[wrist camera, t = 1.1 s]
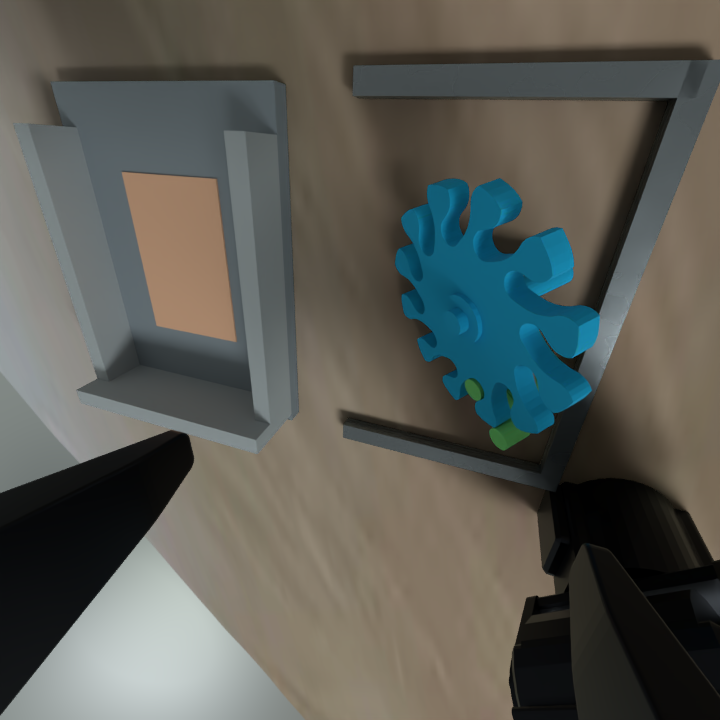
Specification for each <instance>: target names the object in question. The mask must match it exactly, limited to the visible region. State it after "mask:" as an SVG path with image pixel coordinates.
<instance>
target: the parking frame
mask: <svg viewBox="0 0 720 720" xmlns="http://www.w3.org/2000/svg"><path fill="white" fill-rule="evenodd" d="M719 82H720V60H672V61H610V62H547V63H484V64H421V65H358V66H353V96H354V97H357V98H367V99H490V100H612V101H669V102H668V105H667V108H666V111H665V113H664V116H663V119H662V122H661V125H660V128H659V130H658V133H657V136H656V139H655V142H654V144H653V147H652V150H651V153H650V156H649V158H648V161H647V164H646V167H645V170H644V173H643V175H642V178H641V181H640V184H639V187H638V189H637V192H636V195H635V198H634V201H633V203H632V206H631V209H630V212H629V215H628V218H627V220H626V223H625V226H624V229H623V232H622V234H621V237H620V240H619V243H618V246H617V249H616V251H615V254H614V257H613V260H612V263H611V265H610V268H609V271H608V274H607V277H606V279H605V282H604V285H603V288H602V291H601V294H600V296H599V299H598V302H597V305H596V308H595V311H596V312H597V313H598V314H599V315H600V323H599V331H598V336H597V339H596V342H595V343H594V345H593V346H592V347H591V348H589V349H588V350H586V351H584V352H582V353H580V354H579V355H578V358H577V361H576V364H575V367H574V370H575V371H576V372H578V373H580V374H581V375H582V376H583V377H584V378H585V379H586V380H587V381H588V383H589V384H590V386H591V389H592V391H591V392H590V393H589V394H588V395H587V396H586V397H584V398H583V399H582V400H580V401H578V402H577V403H575V404H573V405H572V406H570V407H568V408H567V409H565V410H563V411H561V412H559V413H558V415H557V417H556V420H555V423H554V426H553V429H552V431H551V434H550V437H549V440H548V443H547V445H546V448H545V451H544V454H543V457H542V460H541V462H540V464H537V463H533V462H528V461H524V460H520V459H516V458H512V457H508V456H504V455H500V454H495V453H491V452H487V451H483V450H479V449H475V448H471V447H467V446H463V445H458V444H454V443H450V442H446V441H442V440H438V439H434V438H430V437H425V436H421V435H417V434H413V433H409V432H405V431H401V430H397V429H393V428H388V427H384V426H380V425H376V424H372V423H368V422H364V421H360V420H356V419H351V418H347V420H346V422H345V423H344V425H343V438H347V439H351V440H355V441H359V442H363V443H367V444H370V445H374V446H378V447H382V448H386V449H390V450H394V451H398V452H401V453H405V454H409V455H413V456H417V457H421V458H425V459H428V460H432V461H436V462H440V463H444V464H448V465H452V466H456V467H459V468H463V469H467V470H471V471H475V472H479V473H483V474H487V475H490V476H494V477H498V478H502V479H506V480H510V481H514V482H517V483H521V484H525V485H529V486H533V487H537V488H541V489H545V490H548V491H552V492H556V490H557V487H558V485H559V482H560V480H561V477H562V475H563V472H564V470H565V467H566V465H567V462H568V460H569V457H570V455H571V452H572V450H573V447H574V445H575V442H576V440H577V437H578V435H579V432H580V430H581V427H582V425H583V422H584V420H585V417H586V415H587V412H588V410H589V407H590V405H591V402H592V400H593V397H594V395H595V392H596V390H597V387H598V385H599V382H600V380H601V377H602V375H603V372H604V370H605V367H606V365H607V362H608V360H609V357H610V355H611V352H612V350H613V347H614V345H615V342H616V340H617V337H618V335H619V332H620V330H621V327H622V325H623V322H624V320H625V317H626V315H627V312H628V310H629V307H630V305H631V302H632V300H633V297H634V295H635V292H636V290H637V287H638V285H639V282H640V280H641V277H642V275H643V272H644V270H645V267H646V265H647V262H648V260H649V257H650V255H651V252H652V250H653V247H654V245H655V242H656V240H657V237H658V235H659V232H660V230H661V227H662V225H663V222H664V220H665V217H666V215H667V212H668V210H669V207H670V205H671V202H672V200H673V197H674V195H675V192H676V190H677V187H678V185H679V182H680V180H681V177H682V175H683V172H684V170H685V167H686V165H687V162H688V160H689V157H690V155H691V152H692V150H693V147H694V145H695V142H696V140H697V137H698V135H699V132H700V130H701V127H702V125H703V122H704V120H705V117H706V115H707V112H708V110H709V107H710V105H711V102H712V100H713V97H714V95H715V92H716V90H717V87H718V85H719Z"/></svg>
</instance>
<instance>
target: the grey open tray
mask: <svg viewBox="0 0 720 720" xmlns="http://www.w3.org/2000/svg"><path fill="white" fill-rule="evenodd" d="M51 85H52V89H53V93H54V96H55V100H56V103H57V107H58V110H59V114H60V118H61V121H62V125H63V126H52V125H39V124H24V123H13V125H14V128H15V131H16V134H17V137H18V140H19V143H20V146H21V149H22V152H23V155H24V158H25V161H26V164H27V167H28V170H29V173H30V176H31V179H32V182H33V185H34V188H35V191H36V194H37V197H38V200H39V203H40V206H41V209H42V212H43V215H44V218H45V221H46V224H47V227H48V230H49V233H50V236H51V239H52V242H53V246H54V249H55V252H56V255H57V258H58V261H59V264H60V267H61V270H62V273H63V276H64V279H65V282H66V285H67V288H68V291H69V294H70V297H71V300H72V303H73V306H74V309H75V312H76V315H77V318H78V321H79V324H80V327H81V330H82V333H83V336H84V339H85V342H86V345H87V348H88V351H89V354H90V357H91V360H92V363H93V366H94V369H95V372H96V375H97V378H98V379H96V380H94V381H92V382H91V383H89V384H87V385H85V386H83V387H81V388H79V389H77V390H76V391H77V393H78V396H79V399H80V401H81V403H82V404H86V405H89V406H93V407H96V408H100V409H103V410H107V411H110V412H114V413H117V414H120V415H124V416H127V417H131V418H134V419H138V420H141V421H145V422H148V423H152V424H155V425H159V426H162V427H165V428H169V429H172V430H176V431H180V432H183V433H186V434H190V435H193V436H197V437H200V438H203V439H207V440H210V441H214V442H217V443H221V444H224V445H228V446H231V447H235V448H238V449H242V450H245V451H248V452H252V453H255V454H258V453H259V452H260V451H261V450H262V448H263V447H264V446H265V445H266V444H267V442H268V441H269V440H270V439H271V438H272V437H273V435H274V434H275V433H276V432H277V431H278V429H279V428H280V427H281V426H282V425H283V424H284V422H285V421H286V420H287V419H289V420H293V418H294V417H295V416H296V415H297V413H298V412H299V403H298V379H297V354H296V330H295V305H294V281H293V256H292V232H291V207H290V183H289V158H288V134H287V109H286V85H285V84H283V83H280V82H277V81H274V80H260V81H71V82H51Z"/></svg>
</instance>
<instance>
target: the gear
mask: <svg viewBox="0 0 720 720" xmlns="http://www.w3.org/2000/svg"><path fill="white" fill-rule="evenodd" d="M427 199H428V204H424V205H422V206H419V207H416V208H413V209H410V210H408V211H407V212H406V213H405V214H404V215H403V216H402V218H401V220H402V225H403V228H404V230H405V232H406V234H407V235H408V236H409V238H410V239H411V241H412V242H413V243H412V244H410V245H407V246H404V247H402V248H399V249H398V251H397V254H396V259H395V266H396V268H397V270H398V271H399V273H400V274H401V275H403V276H405V277H406V278H407V279H408V280H409V281H410V282H411V283H412V284H413V285H414V287H415V288H416V289H414V290H411V291H409V292H407V293H404V294H402V306H403V311H404V314H405V315H406V316H407V317H408V318H409V319H418V320H420V321H421V322H423V323H424V324H425V325H426V326H427V327H428V328H429V329H430V330H431V331H432V332H431V333H429V334H426V335H424V336H422V337H420V338H418V339H417V341H418V345H419V348H420V351H421V353H422V355H423V357H424V359H425V360H426V361H428V362H430V361H432V360H434V359H436V358H438V357H440V356H444V357H447V358H449V359H450V360H452V362H453V363H454V364H455V366H456V368H457V369H456V370H454V371H452V372H450V373H448V374H446V375H444V376H443V383H444V385H445V387H446V388H447V390H448V391H449V392H450V394H451V395H452V396H453V398H454V399H455V400H458V399H460V398H462V397H464V396H466V395H468V394H469V395H470V397H471V398H472V399H474V400H476V401H477V402H476V403H475V410H476V413H477V414H478V415H479V416H480V417H481V418H482V419H483V420H484V421H485V422H486V423H488V424H489V425H491V426H492V427H493V428H491V429H490V431H489V434H490V437H491V440H492V441H493V443H494V444H495V445H496V446H497V447H498V448H499V449H501V450H506V449H508V448H510V447H511V446H513V445H515V444H516V443H518V442H519V441H521V440H523V439H524V438H526V437H528V436H529V435H530V433H535V434H538V433H539V432H541V431H543V430H544V429H546V428H548V427H549V426H551V425H553V424H554V416H553V413H559V412H561V411H563V410H565V409H567V408H568V407H570V406H572V405H573V404H575V403H577V402H578V401H580V400H582V399H583V398H584V397H586V396H587V395H588V394H589V393H590V392H591V391H592V389H591V386H590V384H589V383H588V381H587V380H586V379H585V378H584V377H583V376H582V375H581V374H580V373H578V372H576V371H575V370H573V369H571V368H570V367H568V366H567V365H566V364H564V363H563V362H562V361H561V360H560V359H559V358H558V357H557V356H556V355H555V354H554V353H553V352H552V350H551V349H550V348H549V346H548V345H547V343H546V341H545V340H544V338H543V336H542V335H541V333H540V331H539V329H540V330H541V332H542V333H543V335H544V337H545V338H546V340H547V342H548V343H549V345H550V346H551V348H552V349H553V350H554V351H555V352H557V353H558V354H559V355H561V356H563V357H566V358H573V357H575V356H577V355H579V354H580V353H582V352H584V351H586V350H588V349H589V348H591V347H592V346H593V345H594V343H595V342H596V339H597V336H598V331H599V323H600V315H599V314H598V313H597V312H596V311H595V310H593V309H592V308H590V307H587V306H583V305H577V306H561V305H556V304H553V303H551V302H548V301H546V300H545V299H543V298H541V297H540V296H541V295H543V294H545V293H547V292H549V291H552V290H554V289H556V288H558V287H560V286H562V285H564V284H566V283H568V282H570V281H571V280H572V278H573V267H574V258H573V254H572V249H571V247H570V244H569V241H568V239H567V237H566V235H565V233H564V230H563V228H558V227H556V228H551V229H548V230H546V231H544V232H541V233H539V234H537V235H534V236H532V237H529V238H527V239H526V240H524V241H523V242H522V244H521V245H520V247H519V249H518V250H517V251H516V252H515V253H514V254H503V253H501V252H500V251H498V250H497V248H496V247H495V245H494V243H493V238H492V233H493V229H494V227H497V226H499V225H502V224H504V223H507V222H510V221H512V220H514V219H515V218H516V217H517V216H518V215H519V213H520V211H521V208H522V200H521V198H520V197H519V195H518V194H517V193H516V191H515V190H514V189H513V188H512V187H511V186H510V185H509V184H507V183H506V182H505V181H503V180H502V179H500V178H499V179H496V180H493V181H491V182H488V183H485V184H482V185H479V186H478V187H476V188H475V190H474V191H473V194H472V196H471V212H470V220H469V224H468V228H467V230H466V232H465V234H464V235H463V234H462V232H461V230H460V226H459V218H460V215H461V213H462V212H463V211H464V209H465V208H466V206H467V204H468V201H469V187H468V184H467V183H466V182H465V181H463V180H460V179H446V180H443V181H440V182H437V183H434V184H431V185H428V189H427ZM523 275H524V276H523ZM552 412H553V413H552Z"/></svg>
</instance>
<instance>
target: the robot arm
mask: <svg viewBox="0 0 720 720" xmlns="http://www.w3.org/2000/svg"><path fill="white" fill-rule="evenodd" d="M193 463H194V455H193V451H192V447H191V442H190V438H189V436H188V435H187V434H186V433H183V432H180V431H176V430H170V431H167V432H164V433H162V434H159V435H156V436H154V437H151V438H148V439H146V440H143V441H140V442H137V443H135V444H132V445H129V446H127V447H124V448H121V449H118V450H116V451H113V452H110V453H108V454H105V455H102V456H99V457H97V458H94V459H91V460H89V461H86V462H83V463H80V464H78V465H75V466H72V467H70V468H67V469H65V470H61V471H59V472H56V473H53V474H51V475H48V476H45V477H43V478H40V479H37V480H34V481H32V482H29V483H26V484H24V485H21V486H18V487H15V488H13V489H10V490H7V491H5V492H2V493H0V715H1V714H2V713H3V712H4V710H5V709H6V708H7V707H8V705H9V704H10V703H11V702H12V700H13V699H14V698H15V697H16V695H17V694H18V693H19V692H20V690H21V689H22V688H23V687H24V685H25V684H26V683H27V682H28V680H29V679H30V678H31V677H32V675H33V674H34V673H35V672H36V670H37V669H38V668H39V667H40V665H41V664H42V663H43V662H44V660H45V659H46V658H47V657H48V655H49V654H50V653H51V652H52V650H53V649H54V648H55V647H56V645H57V644H58V643H59V641H60V640H61V639H62V638H63V637H64V635H65V634H66V633H67V632H68V630H69V629H70V628H71V627H72V625H73V624H74V623H75V622H76V620H77V619H78V618H79V617H80V615H81V614H82V612H84V610H85V609H86V608H87V607H88V605H89V604H90V603H91V601H92V600H93V599H94V598H95V597H96V595H97V594H98V593H99V592H100V590H101V589H102V588H103V587H104V585H105V584H106V583H107V582H108V580H109V579H110V578H111V577H112V575H113V574H114V573H115V572H116V570H117V569H118V568H119V567H120V565H121V564H122V563H123V562H124V560H125V559H126V558H127V557H128V555H129V554H130V553H131V552H132V550H133V549H134V548H135V547H136V545H137V544H138V543H139V542H140V540H141V539H142V538H143V537H144V535H145V534H146V533H147V532H148V530H149V529H150V528H151V527H152V525H153V524H154V523H155V521H156V520H157V519H158V517H159V516H160V514H161V513H162V511H163V510H164V508H165V507H166V505H167V504H168V502H169V501H170V499H171V498H172V496H173V495H174V493H175V492H176V490H177V489H178V487H179V486H180V484H181V483H182V481H183V480H184V478H185V477H186V475H187V474H188V472H189V471H190V469H191V468H192V466H193ZM537 516H538V527H539V538H540V550H541V561H542V568H543V570H544V571H545V573H546V574H549V575H552V576H554V585H555V595H549V596H544V597H538V596H532V597H527V598H526V602H525V606H524V610H523V614H522V618H521V622H520V627H519V631H518V635H517V639H516V643H515V646H514V648H513V651H512V660H511V665H510V677H509V686H510V689H511V697H512V701H513V706H514V707H512V716H513V719H514V720H720V560H717V561H714V560H713V558H712V556H711V554H710V552H709V550H708V548H707V546H706V544H705V543H704V541H703V539H702V537H701V535H700V533H699V531H698V529H697V527H696V525H695V523H694V521H693V520H692V518H691V516H690V514H689V513H688V512H685V511H681V510H677V509H675V508H674V507H673V506H672V505H671V504H670V502H669V501H668V500H667V499H666V498H665V497H664V496H663V495H662V494H661V493H659V492H658V491H656V490H655V489H653V488H651V487H649V486H646V485H644V484H641V483H638V482H635V481H631V480H625V479H615V478H606V479H597V480H591V481H587V482H584V483H581V484H573V483H569V482H563V483H562V484H561V485H560V484H559V485H558V487H557V490H556V492H552V491H548V490H546V491H545V494H544V497H543V499H542V502H541V504H540V507H539V510H538V512H537Z"/></svg>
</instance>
